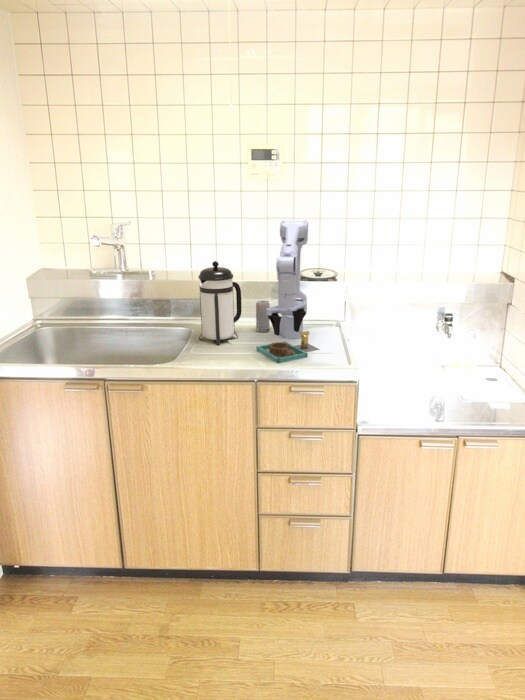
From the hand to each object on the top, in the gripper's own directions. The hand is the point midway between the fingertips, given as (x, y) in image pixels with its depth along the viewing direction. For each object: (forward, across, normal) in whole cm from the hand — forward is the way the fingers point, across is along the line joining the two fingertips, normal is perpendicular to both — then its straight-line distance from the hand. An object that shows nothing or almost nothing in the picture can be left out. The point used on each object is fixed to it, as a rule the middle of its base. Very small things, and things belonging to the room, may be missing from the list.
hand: (286, 333), depth 172 cm
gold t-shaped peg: (+9, +10, +4) cm, 14 cm away
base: (+9, +10, +4) cm, 14 cm away
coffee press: (+10, -10, +33) cm, 36 cm away
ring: (+9, 0, +3) cm, 9 cm away
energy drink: (+10, +9, +33) cm, 36 cm away
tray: (+9, 0, +3) cm, 10 cm away
